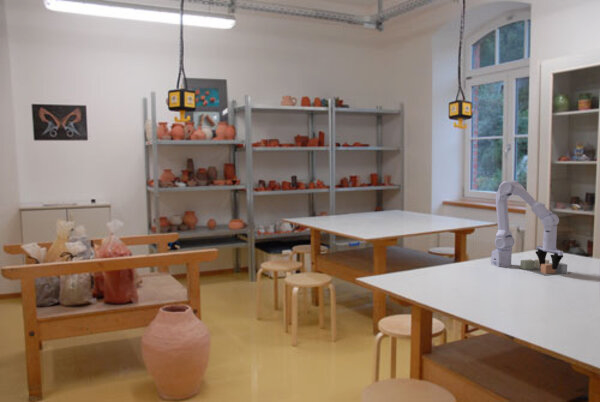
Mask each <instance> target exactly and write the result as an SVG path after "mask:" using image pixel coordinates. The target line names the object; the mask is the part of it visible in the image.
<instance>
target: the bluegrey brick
mask: <svg viewBox="0 0 600 402" xmlns="http://www.w3.org/2000/svg"><path fill="white" fill-rule="evenodd" d="M556 271H557V272H560V273H568V264H566V263H563V262H561V261H560V262H559V264H558V267H557V269H556Z"/></svg>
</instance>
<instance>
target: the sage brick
mask: <svg viewBox="0 0 600 402" xmlns="http://www.w3.org/2000/svg"><path fill="white" fill-rule="evenodd" d="M520 268H522V269H521V270H524V269H535V260H534V259H521V260H520V267H519V269H520Z"/></svg>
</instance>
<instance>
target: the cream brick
mask: <svg viewBox="0 0 600 402" xmlns="http://www.w3.org/2000/svg"><path fill="white" fill-rule="evenodd" d="M534 261H535V268H539V269H541V266H540V263H539V259H538V258H537V259H535V260H534ZM548 263H550V259H548V258H545V264H548Z"/></svg>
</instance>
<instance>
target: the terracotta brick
mask: <svg viewBox="0 0 600 402" xmlns="http://www.w3.org/2000/svg"><path fill="white" fill-rule="evenodd" d="M555 271H556V269H552V263H550V262H549V263H548V264H541V272H542V273H545V274H547V273H555Z"/></svg>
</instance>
